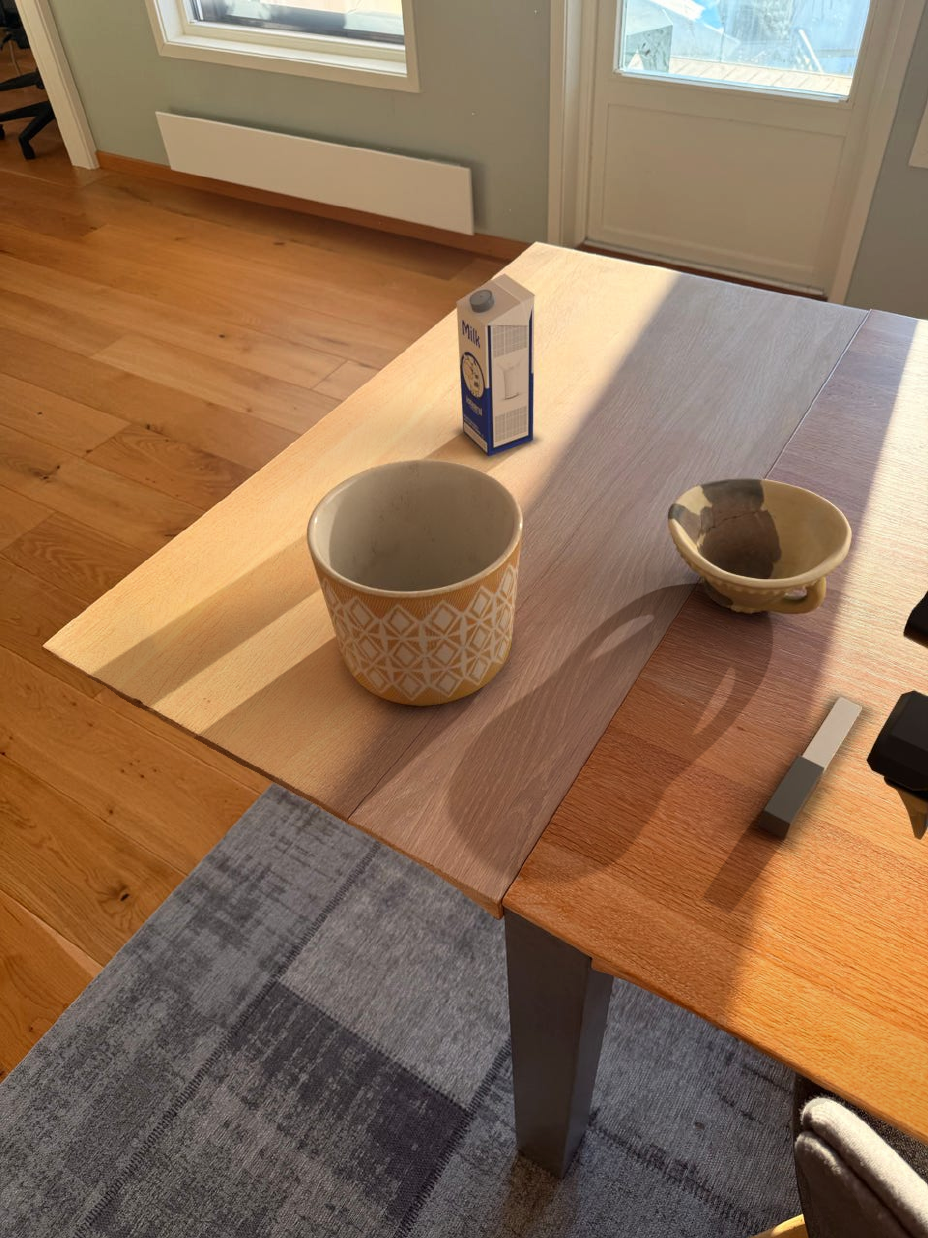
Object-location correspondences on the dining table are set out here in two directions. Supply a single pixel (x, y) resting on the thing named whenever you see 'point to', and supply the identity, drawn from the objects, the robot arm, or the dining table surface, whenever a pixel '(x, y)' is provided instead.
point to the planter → (419, 577)
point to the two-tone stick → (808, 770)
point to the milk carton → (497, 364)
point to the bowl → (759, 543)
